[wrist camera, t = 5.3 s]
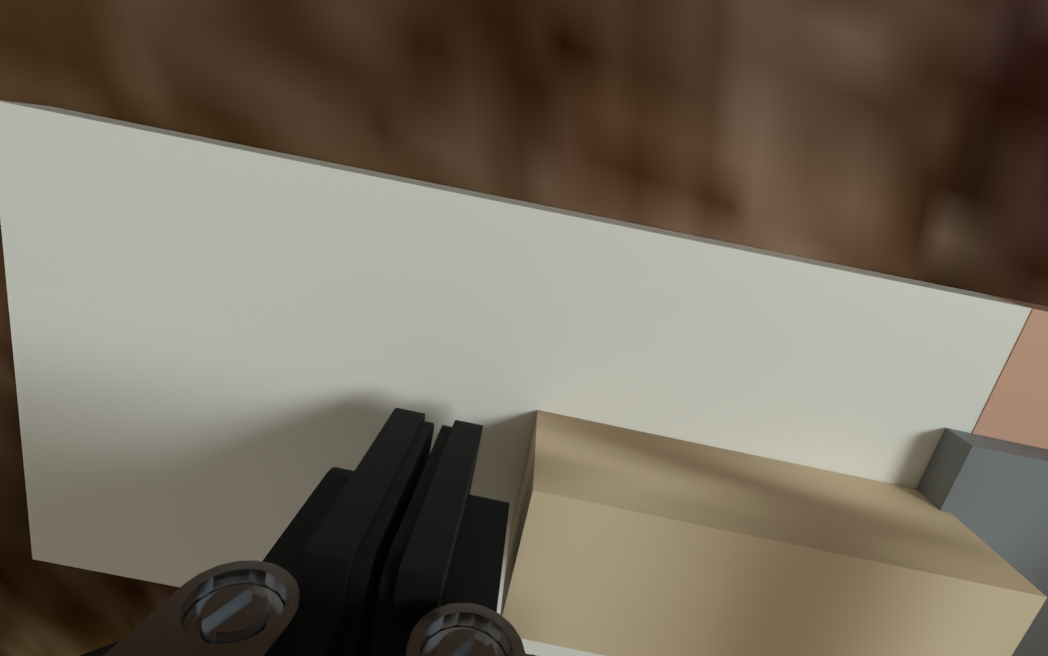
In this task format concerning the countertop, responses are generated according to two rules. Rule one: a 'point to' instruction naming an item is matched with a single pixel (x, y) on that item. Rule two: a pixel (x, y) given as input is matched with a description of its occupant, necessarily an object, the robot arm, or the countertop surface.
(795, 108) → the countertop surface
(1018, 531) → the turner
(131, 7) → the countertop surface
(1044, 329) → the board
